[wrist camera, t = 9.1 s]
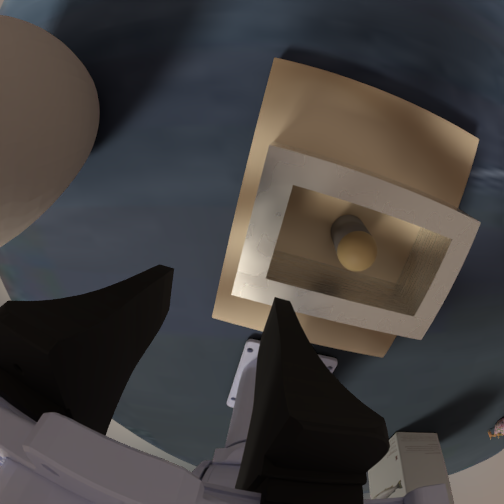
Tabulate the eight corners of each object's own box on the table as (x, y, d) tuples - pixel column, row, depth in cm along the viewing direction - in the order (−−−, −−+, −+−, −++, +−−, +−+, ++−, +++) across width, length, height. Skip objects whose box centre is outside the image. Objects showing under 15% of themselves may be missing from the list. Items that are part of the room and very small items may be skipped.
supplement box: (395, 430, 28) (410, 520, 16) (437, 431, 28) (457, 510, 16) (364, 458, 31) (370, 538, 20) (405, 459, 31) (417, 531, 20)
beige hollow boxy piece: (403, 305, 20) (421, 340, 16) (242, 262, 20) (231, 294, 16) (449, 203, 16) (480, 222, 13) (274, 141, 17) (269, 144, 13)
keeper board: (379, 345, 23) (393, 394, 18) (216, 306, 23) (197, 354, 18) (468, 137, 16) (516, 146, 11) (275, 62, 16) (269, 37, 11)
